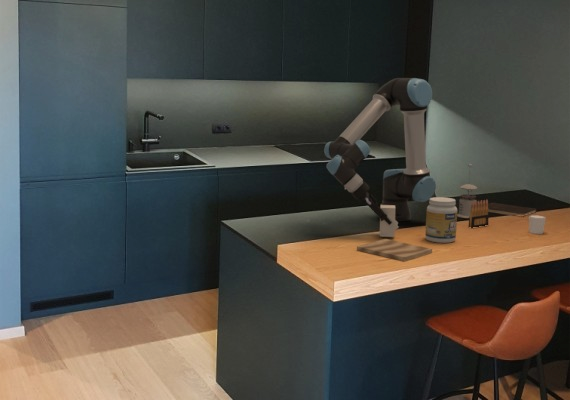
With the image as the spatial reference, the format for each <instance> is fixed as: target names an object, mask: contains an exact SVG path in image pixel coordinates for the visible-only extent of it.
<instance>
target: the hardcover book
mask: <svg viewBox="0 0 570 400" xmlns="http://www.w3.org/2000/svg"><path fill="white" fill-rule="evenodd" d="M534 212H535V213H537V209H536V208H531V207H524V206H520V205H519V206H518V205H517V206H516V205H510V204H505V203H498V202H497V203H496V202H491V203H490V202H489V203H488V213H495V214H501V215H508V216H513V215H525V214H529V213H532V214H534ZM529 215H530V214H529Z"/></svg>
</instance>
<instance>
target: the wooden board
mask: <svg viewBox="0 0 570 400" xmlns="http://www.w3.org/2000/svg"><path fill="white" fill-rule="evenodd" d="M356 251H357V252H363V253H366V254H371V255H375V256H380V257H384V258H388V259H392V260H396V261H401V262H408V261H410V260H413V259H416V258H420V257H423V256H425V255H426V256H427V255H430V254H433V248H430V247H426V246H425V247H424V246H419V245H416V244H411V243H405V242H401V241H397V240H392V239H388V238H383V239H380V240H376V241H372V242H368V243H365V244H362V245H361V244H360V245H357V246H356Z"/></svg>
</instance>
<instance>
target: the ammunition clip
mask: <svg viewBox="0 0 570 400" xmlns="http://www.w3.org/2000/svg"><path fill="white" fill-rule="evenodd" d="M488 204H489V201H488V199H486V200H485V199H484V200H482V199H481V200H478V201H477V202H476V201H475V203H474V202H472V205H471V211H470V216H469V218H468V228H469V227H471V228H470V229H474V228H473V227H478V228H480V227H479V226H484V227H486V226H485V225H488V226H489V216H490V215H489V212H488Z"/></svg>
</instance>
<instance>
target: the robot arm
mask: <svg viewBox="0 0 570 400" xmlns="http://www.w3.org/2000/svg"><path fill="white" fill-rule="evenodd" d="M432 100H433V90H432V86H431V85H430V83H428V81H427V80H425V79H422V78H416V77H397V78H396V77H395V78H392V79H391V80H389V81H388V82H386V83H385V84H384V85H382V86H381V87H380V88H379V89H378V90H377V91H376V92H375V93H374V94H373V95H372V100H371V101H370V102H369V103H368V104H367V105H366V106H365V107H364V109H362V111H361V112H359V114H358V115H357V116H356V117H355V119H354V120H353V121H352V122H351V123H350V124H349V125H348V126H347V127H346V129H345V130H343V132H342V133H341V134H340V135H339V136H338V137H337V138H336V139H335V140H334V141H333V140H332V141H328V142H327V143H326V144H325V146H324V149H323V152H324V156H325V157H326V158H328V159H330V161H329V162H328V163H326V166H325V167H326V169H327V171H328V172H329V173H330V175H332V177H334V178H335V179H336V180H337V181H338V182H339V183H340V184H341V185H342V186H343V187H344V190H347V191H348V193H351V196H353V198H354V199H355V200H360V199H361V198H362V199H363V202H364V204H365V205H366V206H368V207H369V208H370V209H371V211H373V213H374V214H376V216H377V218H378V219H379V220H380V219H381V221H384V222H385V223H386V224H387V225H388V226H389V227H390V228H391V229H392V230H393V231H396V230H397V229H399V227H400V226H398V224H399V222H407V221H410V220H411V219H412V213H411V209H410V205H409V201H414V202H421V203H425V202H427V201H428V202H429V201H430V198H433V195H435V192H436V190H437V189H436V188H437V187H436V186H437V184H436V180H435V179H434V178H433V177H432V176H431V173H430V172H431V170H430V169H429V168H428V167H427V162H426V161H427V157H426V135H425V134H426V133H425V112H426V111H427V110H428V105H430V104H431V101H432ZM395 106H399V111H400V112H401V114H403V124H404V125H403V128H404V129H403V130H404V147H405V166H406V167H405V168H396V169H395V168H393V169H386V170H385V171H384V172H383V177H382V202H381V203H380V202H379V200H377V198H376V197H374V195H373V194H372V193H371V192H370V193H369V192H368V191H369V190H371V187H370V185H369V184H368V183H367V182H365V181H364V180H363V178H362V177H361V176H360V174H358V173H357V172H356V171H355V169H357V167H358V166H359V165H360V164H361V163H362V162H363V161H364V160H365V159H366V158H367V157H368V155H369V154H370V153H371V148H370V146H369V145H368V143H367V142H366V141H364V140H362V137H363V136H364V135H365V134H367V132H368V131H369V130H370V129H371V127H372V126H374V124H375V123H376V122H377V121H378V120H379V119H380V118H381V117H382V115H383V114H384V113H385V112H388V111H390V110H391V109H392V108H393V107H395ZM380 205H395V222H394V221H393V220H392V219H391V218H390V217H389V216H387V215H386V214H385V213H384V212H383V210H382V209H381V208H380Z"/></svg>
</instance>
